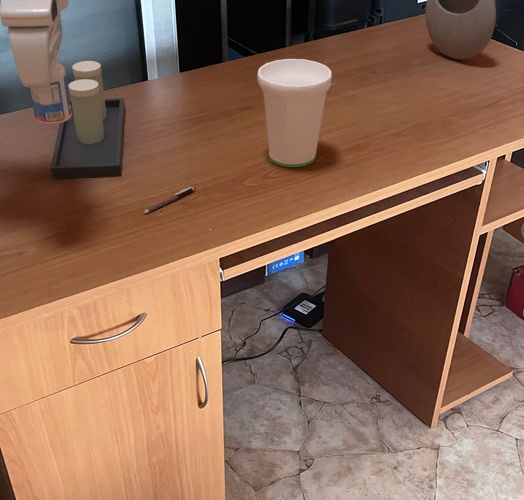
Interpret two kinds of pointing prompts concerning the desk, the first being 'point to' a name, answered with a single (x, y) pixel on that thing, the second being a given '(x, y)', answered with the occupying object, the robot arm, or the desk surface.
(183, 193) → the pen
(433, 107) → the desk surface
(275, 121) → the cup
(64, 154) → the tray
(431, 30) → the planter
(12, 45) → the robot arm
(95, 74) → the bottle back
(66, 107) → the pill bottle
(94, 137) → the bottle mid
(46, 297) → the desk surface
